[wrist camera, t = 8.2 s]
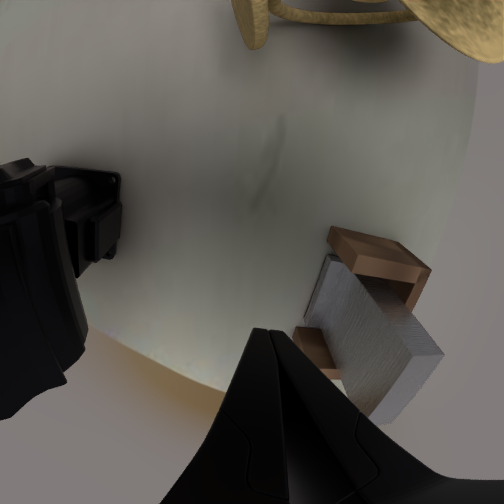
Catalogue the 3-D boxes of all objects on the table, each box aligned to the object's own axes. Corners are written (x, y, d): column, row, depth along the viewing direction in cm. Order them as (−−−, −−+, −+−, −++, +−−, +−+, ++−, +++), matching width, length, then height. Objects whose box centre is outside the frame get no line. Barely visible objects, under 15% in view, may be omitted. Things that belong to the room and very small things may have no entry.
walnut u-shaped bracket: (292, 337, 24) (303, 378, 20) (331, 226, 20) (358, 254, 16) (353, 341, 25) (372, 378, 21) (398, 242, 21) (431, 269, 17)
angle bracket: (303, 319, 24) (341, 429, 13) (327, 255, 21) (394, 356, 11) (354, 324, 24) (405, 420, 14) (380, 265, 22) (457, 353, 12)
